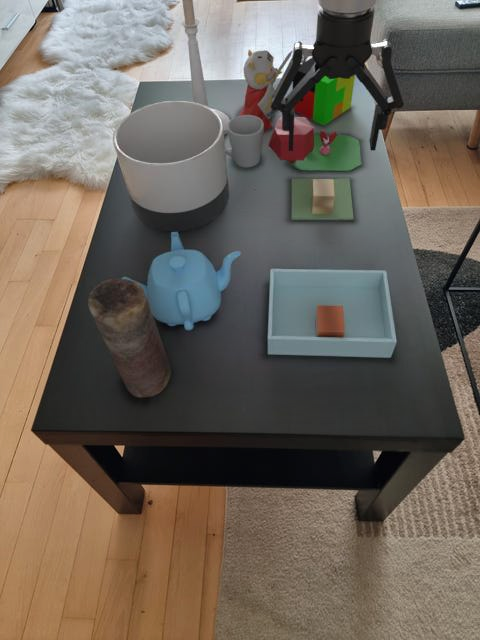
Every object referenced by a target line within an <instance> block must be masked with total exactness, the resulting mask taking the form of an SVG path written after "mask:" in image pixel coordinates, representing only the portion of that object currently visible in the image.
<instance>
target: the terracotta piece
mask: <svg viewBox="0 0 480 640" xmlns="http://www.w3.org/2000/svg"><path fill="white" fill-rule="evenodd" d="M315 330H316V337H337V338H344V333H345V327H344V313H343V306H333V305H317V312H316V320H315Z"/></svg>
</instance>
